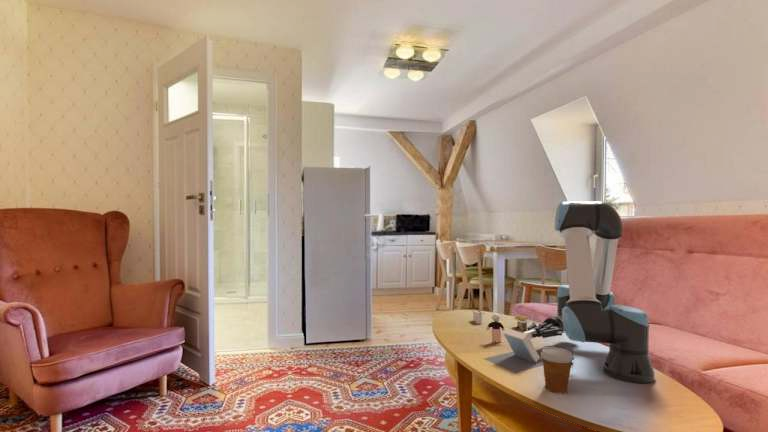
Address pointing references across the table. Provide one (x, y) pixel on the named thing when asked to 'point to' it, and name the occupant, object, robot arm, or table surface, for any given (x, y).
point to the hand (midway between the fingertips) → (525, 336)
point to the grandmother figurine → (496, 328)
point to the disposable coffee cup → (556, 368)
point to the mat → (514, 362)
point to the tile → (521, 344)
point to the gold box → (521, 322)
